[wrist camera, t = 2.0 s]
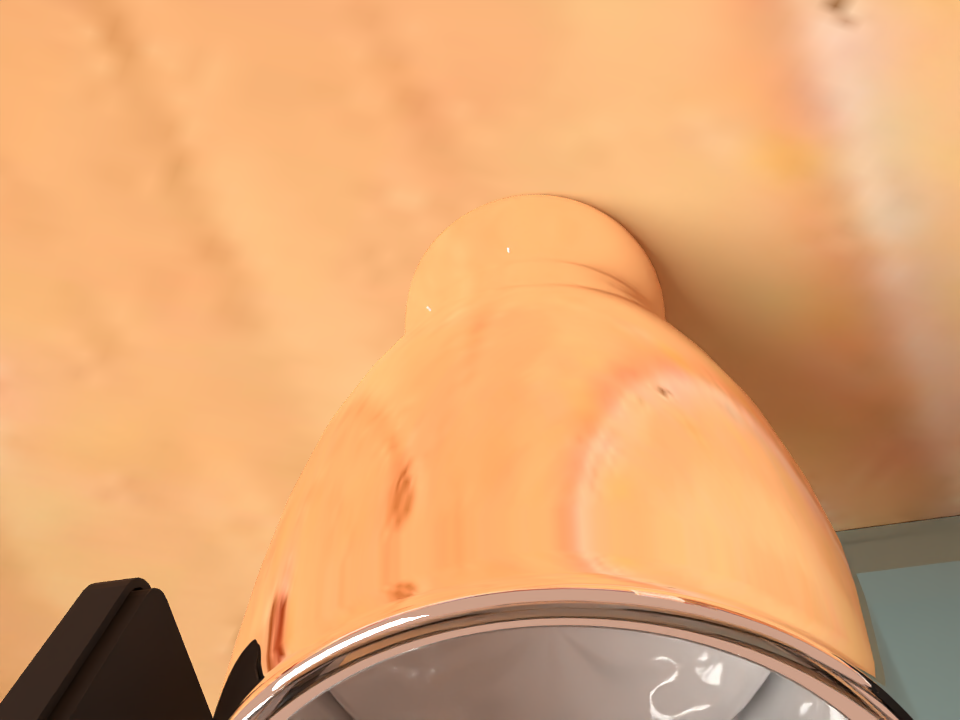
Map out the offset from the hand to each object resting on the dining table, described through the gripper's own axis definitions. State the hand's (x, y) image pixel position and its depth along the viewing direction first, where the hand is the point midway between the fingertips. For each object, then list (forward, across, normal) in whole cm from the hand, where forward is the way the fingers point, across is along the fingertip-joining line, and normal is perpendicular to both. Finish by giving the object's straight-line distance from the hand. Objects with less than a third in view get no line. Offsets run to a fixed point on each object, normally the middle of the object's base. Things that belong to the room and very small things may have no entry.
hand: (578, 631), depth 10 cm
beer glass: (+12, +1, +1) cm, 12 cm away
